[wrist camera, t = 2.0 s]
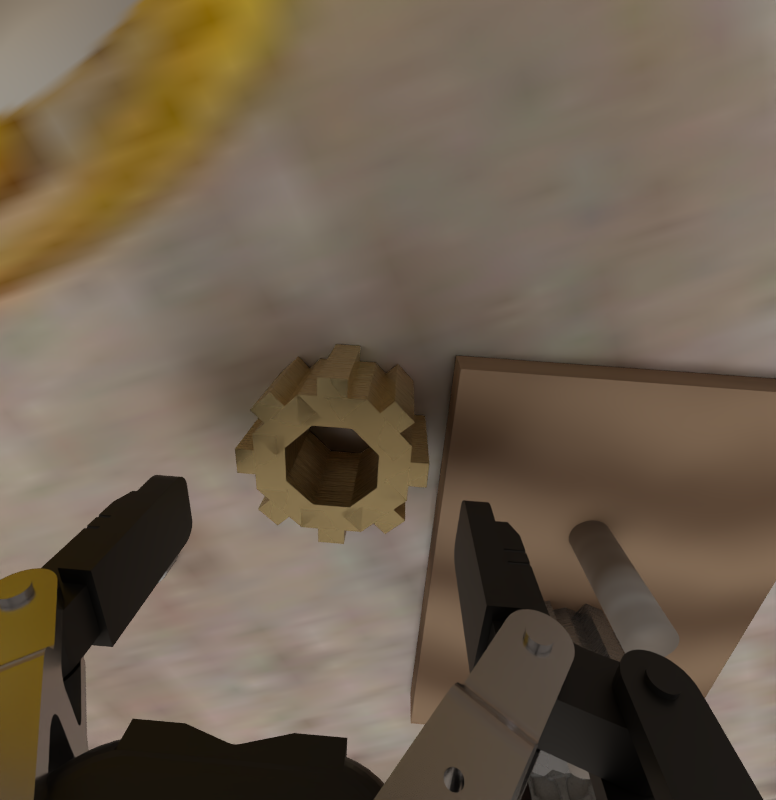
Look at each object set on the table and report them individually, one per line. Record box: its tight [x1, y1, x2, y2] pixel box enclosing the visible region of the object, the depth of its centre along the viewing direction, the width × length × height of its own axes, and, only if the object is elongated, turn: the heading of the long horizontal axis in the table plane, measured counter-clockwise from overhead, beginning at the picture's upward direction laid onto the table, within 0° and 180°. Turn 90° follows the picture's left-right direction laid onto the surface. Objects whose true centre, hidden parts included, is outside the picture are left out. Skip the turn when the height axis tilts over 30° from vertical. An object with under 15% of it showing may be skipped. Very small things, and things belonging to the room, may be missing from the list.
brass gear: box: [235, 344, 429, 544], centre depth 15 cm, size 6×6×4 cm
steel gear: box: [532, 601, 625, 780], centre depth 17 cm, size 6×6×4 cm
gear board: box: [411, 356, 776, 779], centre depth 16 cm, size 20×14×6 cm
